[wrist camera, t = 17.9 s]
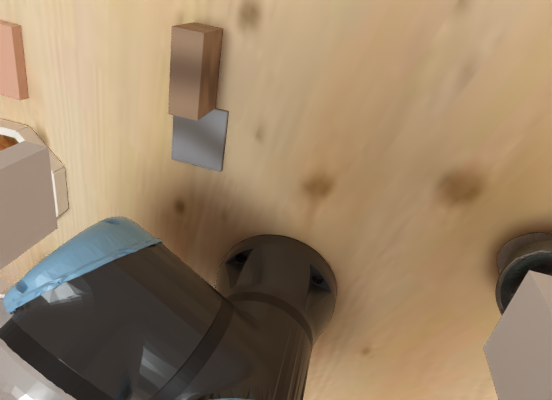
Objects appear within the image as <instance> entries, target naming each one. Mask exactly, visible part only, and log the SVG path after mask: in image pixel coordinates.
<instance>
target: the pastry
mask: <svg viewBox="0 0 552 400" xmlns="http://www.w3.org/2000/svg"><path fill="white" fill-rule="evenodd" d="M18 143H19V142H18V141H17V140H16V139H15V138H13V137H9V136H5V135H1V134H0V151H1V150H4V149H6V148H8V147H11V146H13V145H15V144H18Z"/></svg>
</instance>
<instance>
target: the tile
mask: <svg viewBox="0 0 552 400" xmlns="http://www.w3.org/2000/svg"><path fill="white" fill-rule="evenodd" d="M0 95H3V96H6V97H10V98H14V99H17V100H23V99H26V98H29V97H28V88H27V79H26V69H25V60H24V51H23V41H22V32H21V26H19V25H15V24H11V23H7V22H3V21H0Z"/></svg>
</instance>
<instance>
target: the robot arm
mask: <svg viewBox="0 0 552 400" xmlns="http://www.w3.org/2000/svg"><path fill="white" fill-rule="evenodd" d="M57 228H58V226H57V218H56V209H55V200H54V192H53V183H52V174H51V166H50V157H49V148H48V147H46V146H43V145H39V144H35V143H31V142H27V141H23V142H20V143H18V144H15V145H13V146H11V147H8V148H6V149H4V150H1V151H0V270H1V269H2V268H4V267H5V266H6V265H8V264H9V263H10V262H12V261H13V260H15V259H16V258H17V257H19V256H20V255H21V254H23V253H24V252H25V251H27V250H28V249H30V248H31V247H32V246H34V245H35V244H36V243H38V242H39V241H40V240H42V239H43V238H45V237H46V236H47V235H49V234H50V233H51V232H53V231H54V230H55V229H57ZM162 243H163V241H162V240H161V239H159V238H154V237H153V236H152V235H150V234H149V233H148V232H146V231H145V230H144V229H143V228H141V227H140V226H139V225H137V224H136V223H135V222H134V221H132V220H130V219H128V218H125V217H111V218H107V219H104V220H102V221H100V222H98V223H96V224H94V225H92V226H90V227H89V228H87V229H85V230H84V231H82V232H81V233H79V234H78V235H76V236H75V237H73V238H72V239H70V240H69V241H67V242H66V243H65V244H63V245H62V246H60V247H59V248H58V249H56V250H55V251H54V252H52V253H51V254H50V255H48V256H47V257H46V258H45V259H43V260H42V261H41V262H40V263H38V264H37V265H36V266H35V267H33V268H32V269H31V270H30V271H29V272H28V273H27V274H26V275H25V276H24V278H22V279H21V280H20V281H19V282H18V283H17V284H15V285H14V286H13V287H11V289H10V290H9V291H8V292H7V293H6V295H5V296H4V298H3V305H4V306H5V309H6V312H7V313H9V314H13V313H14V314H13V316H12V317H11V318H10V319H9V320H8V321H7V322H6V323H5V324H4V325H3V326H2V327H1V328H0V400H303V397H304V391H305V385H306V379H307V374H308V368H309V363H310V357H311V351H312V346H313V344H314V343H315V341H316V340H317V339H318V337H319V336H320V334H321V333H322V331H323V330H324V328H325V327H326V326H327V324H328V323H329V321H330V319H331V317H332V315H333V312H334V308H335V302H336V295H337V287H336V281H335V278H334V275H333V273H332V271H331V269H330V267H329V266H328V264H327V263H326V262H325V260H324V259H323V258H322V257H321V256H320V255H319V254H318V253H317V252H315V251H314V250H313V249H311V248H310V247H308V246H307V245H305V244H303V243H301V242H299V241H297V240H294V239H291V238H288V237H284V236H277V235H261V236H255V237H252V238H248V239H246V240H244V241H242V242H240V243H239V244H237V245H236V246H235V247H233V248H232V249H231V250H230V252H229V253H228V254H227V256H226V258H225V259H224V261H223V263H222V264H221V266H220V268H219V271H218V274H217V279H216V289H214V288H213V287H212V286H211V285H210V284H208V283H207V282H206V281H205V280H204V279H203V278H201V277H200V276H199V275H198V274H197V273H196V272H194V271H193V270H192V269H191V268H190V267H189V266H187V265H186V264H185V263H184V262H183V261H182V260H180V259H179V258H178V257H177V256H176V255H175V254H173V253H172V252H171V251H170V250H169V249H168V248H166V247H165V246H164V245H163V244H162ZM484 352H485V355H486V358H487V362H488V365H489V369H490V372H491V375H492V379H493V382H494V386H495V389H496V393H497V396H498V399H499V400H552V276H550V275H546V274H542V273H538V272H534V271H530V270H529V271H528V273H527V274H526V276H525V278H524V279H523V281H522V283H521V285H520V286H519V288H518V290H517V291H516V293H515V295H514V296H513V298H512V300H511V302H510V303H509V305H508V307H507V308H506V310H505V312H504V313H503V315H502V317H501V319H500V320H499V322H498V324H497V325H496V327H495V329H494V331H493V332H492V334H491V336H490V337H489V339H488V341H487V342H486V344H485V346H484Z"/></svg>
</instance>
